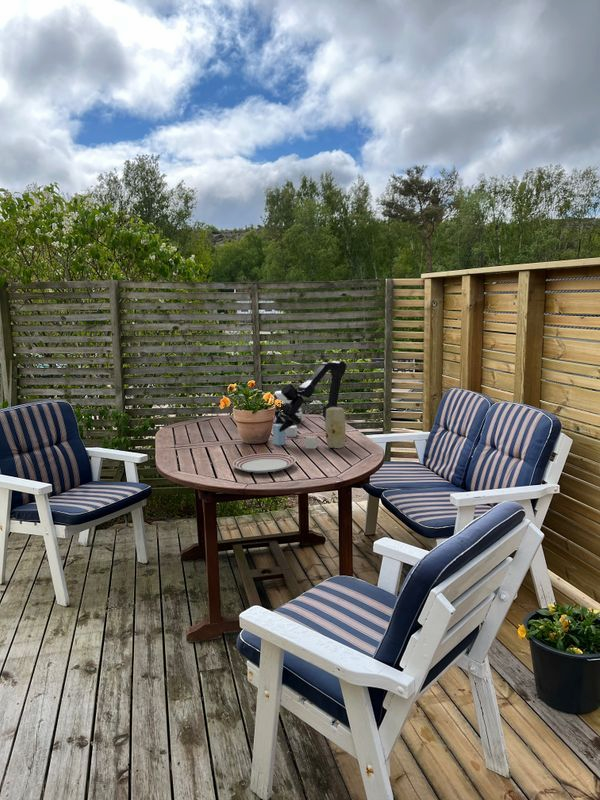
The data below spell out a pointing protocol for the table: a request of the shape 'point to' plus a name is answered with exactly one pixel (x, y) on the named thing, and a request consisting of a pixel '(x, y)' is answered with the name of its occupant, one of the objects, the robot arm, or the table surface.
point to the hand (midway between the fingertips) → (276, 430)
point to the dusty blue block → (279, 435)
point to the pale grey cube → (291, 431)
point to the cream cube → (311, 441)
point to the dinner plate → (264, 462)
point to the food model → (335, 427)
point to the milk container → (281, 397)
